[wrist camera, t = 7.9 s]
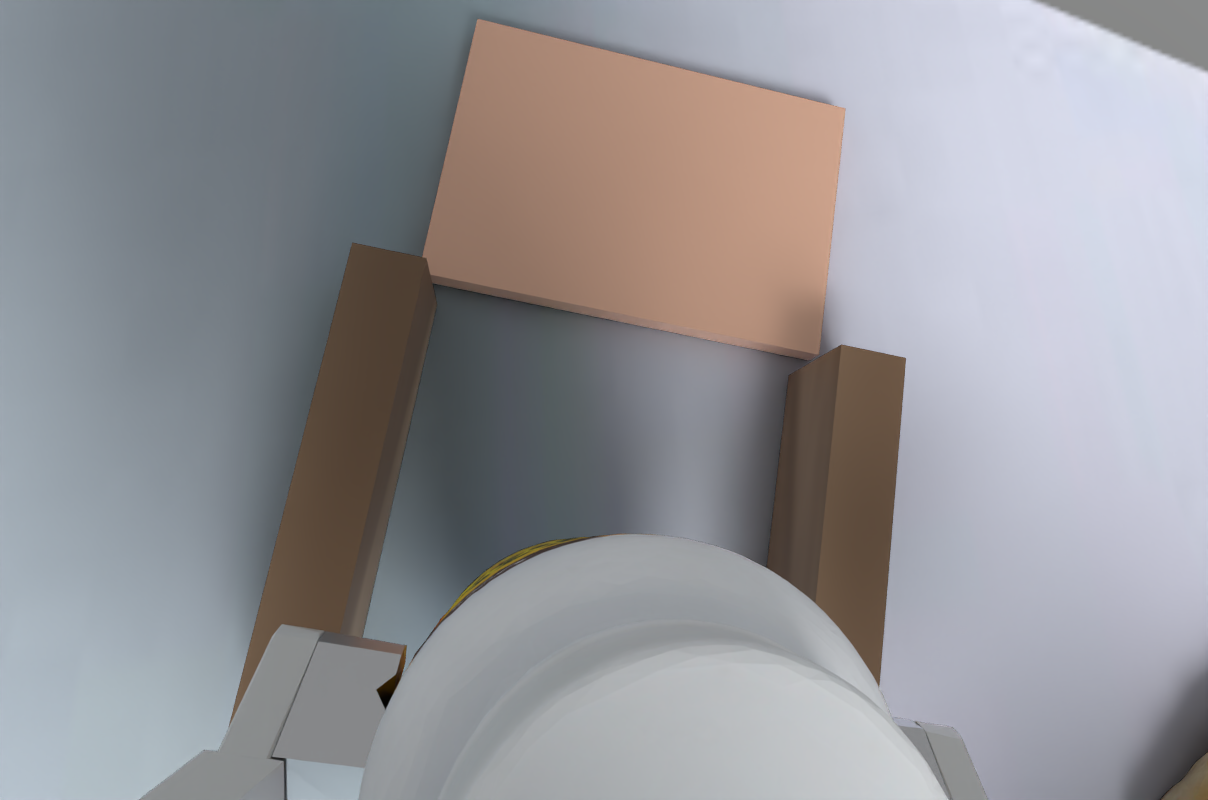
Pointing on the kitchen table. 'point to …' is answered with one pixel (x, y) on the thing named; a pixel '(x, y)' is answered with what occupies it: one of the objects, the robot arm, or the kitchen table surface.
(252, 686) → the robot arm
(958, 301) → the kitchen table surface
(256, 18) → the kitchen table surface
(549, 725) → the supplement bottle
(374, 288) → the walnut lane walls
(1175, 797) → the pastry
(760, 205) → the terracotta tile
